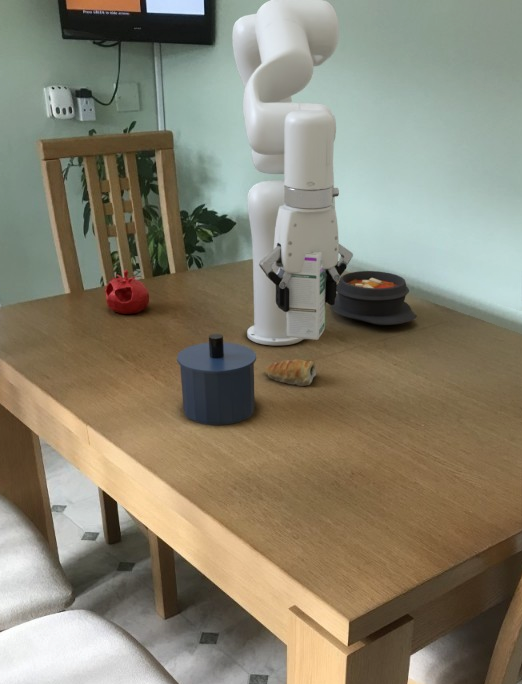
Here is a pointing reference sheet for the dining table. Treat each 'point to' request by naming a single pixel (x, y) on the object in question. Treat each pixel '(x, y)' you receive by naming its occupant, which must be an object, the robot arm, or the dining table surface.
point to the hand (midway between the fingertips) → (306, 305)
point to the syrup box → (307, 299)
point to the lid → (216, 356)
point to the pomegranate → (126, 295)
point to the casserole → (373, 298)
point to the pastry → (292, 372)
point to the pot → (218, 396)
